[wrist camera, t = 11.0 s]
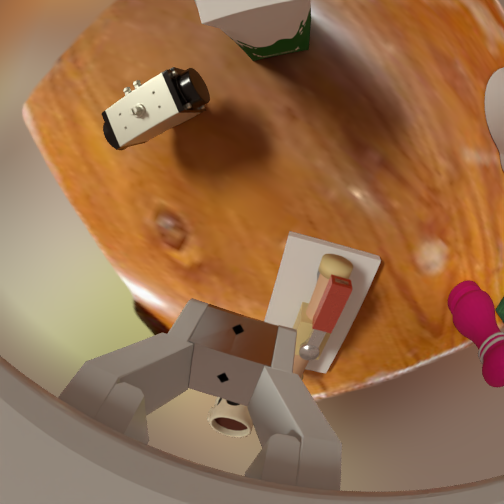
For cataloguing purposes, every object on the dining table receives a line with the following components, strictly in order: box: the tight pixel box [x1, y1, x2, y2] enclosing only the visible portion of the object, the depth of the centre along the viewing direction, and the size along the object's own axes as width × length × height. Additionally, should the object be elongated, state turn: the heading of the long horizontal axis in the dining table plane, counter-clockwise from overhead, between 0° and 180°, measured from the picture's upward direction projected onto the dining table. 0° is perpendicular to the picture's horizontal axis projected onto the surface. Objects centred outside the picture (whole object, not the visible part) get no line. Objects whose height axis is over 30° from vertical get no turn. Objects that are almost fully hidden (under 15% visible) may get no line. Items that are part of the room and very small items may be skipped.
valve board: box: [264, 231, 381, 380], centre depth 41 cm, size 13×23×8 cm, turn 169°
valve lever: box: [299, 274, 353, 360], centre depth 34 cm, size 12×3×2 cm, turn 167°
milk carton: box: [194, 0, 311, 61], centre depth 20 cm, size 9×9×20 cm
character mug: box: [207, 397, 253, 438], centre depth 48 cm, size 11×7×13 cm, turn 119°
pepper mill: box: [448, 281, 504, 387], centre depth 30 cm, size 7×7×20 cm
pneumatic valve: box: [102, 67, 210, 150], centre depth 30 cm, size 6×12×12 cm, turn 113°
